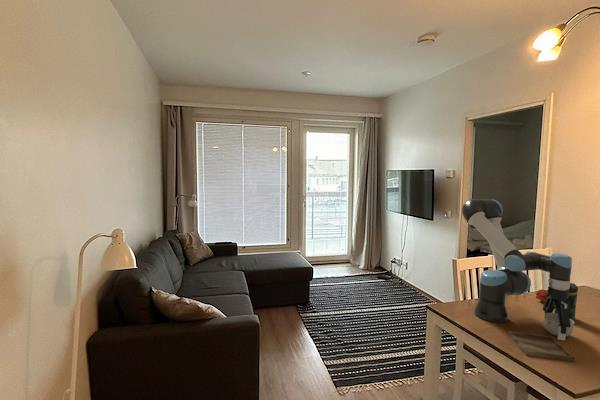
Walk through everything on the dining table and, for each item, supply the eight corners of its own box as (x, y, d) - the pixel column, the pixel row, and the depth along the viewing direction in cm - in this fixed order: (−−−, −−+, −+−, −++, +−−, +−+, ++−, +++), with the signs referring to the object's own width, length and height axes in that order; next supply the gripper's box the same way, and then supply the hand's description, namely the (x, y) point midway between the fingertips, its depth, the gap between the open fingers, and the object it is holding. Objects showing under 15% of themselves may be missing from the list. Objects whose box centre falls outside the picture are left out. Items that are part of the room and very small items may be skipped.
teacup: (559, 328, 153) (560, 312, 153) (579, 340, 143) (581, 323, 142) (531, 328, 153) (532, 312, 152) (549, 339, 142) (550, 322, 142)
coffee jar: (571, 323, 160) (575, 287, 158) (552, 317, 166) (555, 282, 165) (576, 318, 166) (580, 283, 164) (557, 312, 172) (561, 279, 170)
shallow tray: (508, 334, 146) (508, 330, 146) (551, 340, 142) (551, 336, 142) (525, 354, 129) (525, 350, 129) (574, 361, 125) (574, 357, 125)
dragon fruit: (533, 301, 191) (557, 311, 182) (531, 296, 186) (556, 306, 177) (538, 289, 193) (563, 298, 183) (537, 284, 187) (562, 293, 178)
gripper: (536, 278, 159) (533, 321, 160) (563, 296, 136) (558, 345, 138) (554, 280, 157) (550, 323, 159) (584, 298, 134) (579, 347, 136)
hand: (554, 333), depth 148 cm, fingers open, 11 cm apart
